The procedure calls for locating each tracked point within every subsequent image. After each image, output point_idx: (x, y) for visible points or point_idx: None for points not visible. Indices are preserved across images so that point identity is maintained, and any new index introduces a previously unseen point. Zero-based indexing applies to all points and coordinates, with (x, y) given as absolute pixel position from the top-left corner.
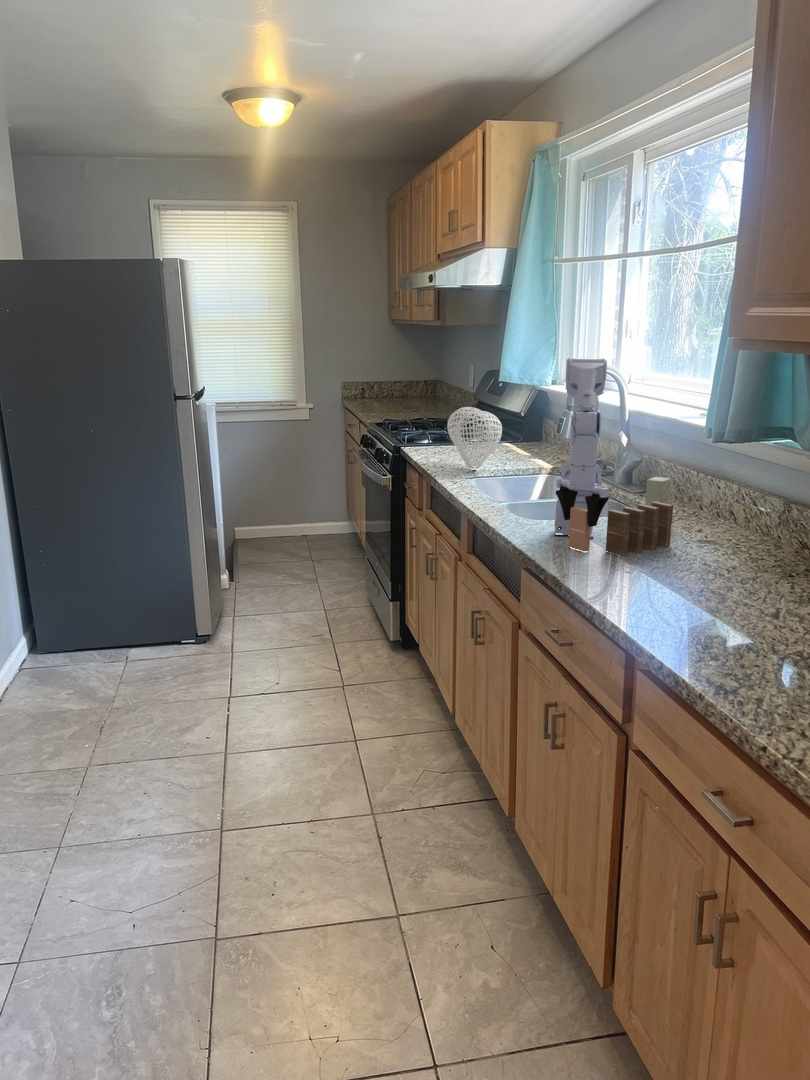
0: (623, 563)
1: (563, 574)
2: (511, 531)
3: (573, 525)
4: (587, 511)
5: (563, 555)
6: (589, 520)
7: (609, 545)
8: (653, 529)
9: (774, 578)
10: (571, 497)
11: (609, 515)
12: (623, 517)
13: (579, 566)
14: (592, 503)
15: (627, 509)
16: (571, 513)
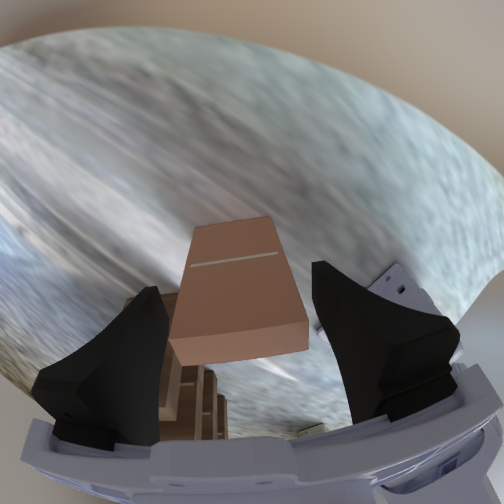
0: (77, 267)
1: (46, 57)
2: (478, 190)
3: (261, 265)
4: (172, 344)
5: (205, 149)
6: (134, 302)
7: (168, 309)
8: None
9: (20, 380)
10: (354, 379)
11: (160, 390)
12: None
13: (80, 133)
14: (51, 365)
15: (176, 439)
16: (290, 298)
